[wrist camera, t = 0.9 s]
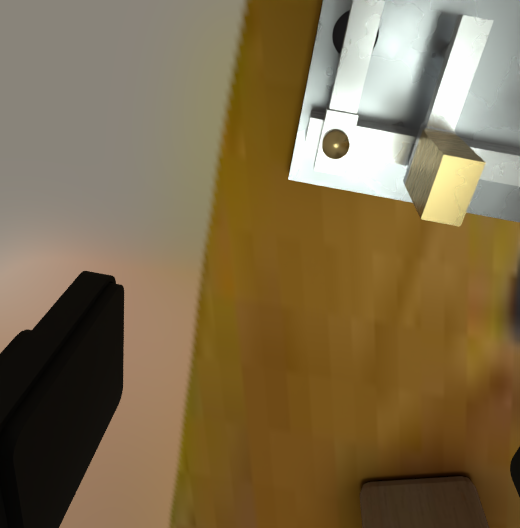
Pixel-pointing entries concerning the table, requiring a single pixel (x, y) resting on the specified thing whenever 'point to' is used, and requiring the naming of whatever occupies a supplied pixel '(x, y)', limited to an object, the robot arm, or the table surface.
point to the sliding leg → (448, 132)
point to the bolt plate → (407, 97)
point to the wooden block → (422, 504)
